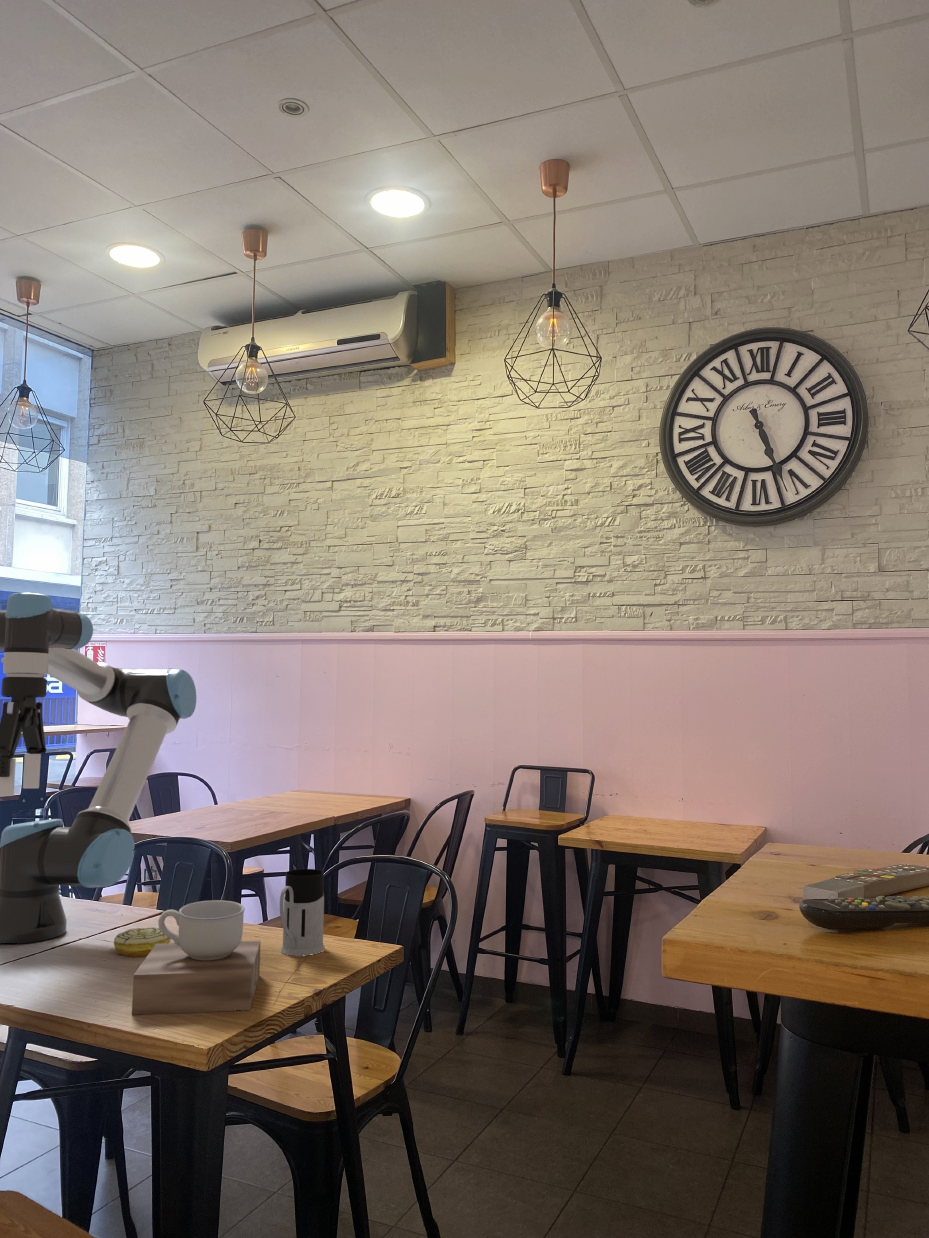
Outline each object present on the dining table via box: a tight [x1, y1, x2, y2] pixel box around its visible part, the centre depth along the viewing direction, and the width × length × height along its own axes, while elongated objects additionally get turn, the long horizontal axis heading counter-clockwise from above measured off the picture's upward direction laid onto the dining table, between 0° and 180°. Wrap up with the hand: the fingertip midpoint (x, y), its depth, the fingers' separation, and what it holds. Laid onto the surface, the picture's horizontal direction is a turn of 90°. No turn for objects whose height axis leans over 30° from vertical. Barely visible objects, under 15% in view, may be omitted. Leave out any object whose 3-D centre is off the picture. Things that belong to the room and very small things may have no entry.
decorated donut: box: [113, 927, 172, 957], centre depth 173 cm, size 10×11×4 cm
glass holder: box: [279, 868, 326, 957], centre depth 172 cm, size 9×14×15 cm, turn 164°
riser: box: [131, 940, 261, 1016], centre depth 147 cm, size 18×18×6 cm
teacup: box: [157, 899, 246, 961], centre depth 149 cm, size 14×11×8 cm
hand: (18, 792), depth 161 cm, fingers open, 13 cm apart
